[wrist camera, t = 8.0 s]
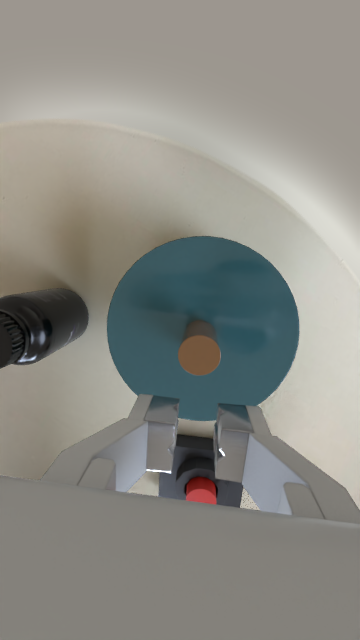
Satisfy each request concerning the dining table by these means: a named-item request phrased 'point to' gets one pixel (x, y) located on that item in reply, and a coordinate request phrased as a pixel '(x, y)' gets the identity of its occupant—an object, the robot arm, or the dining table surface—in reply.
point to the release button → (201, 490)
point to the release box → (197, 472)
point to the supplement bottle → (39, 324)
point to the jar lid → (203, 325)
